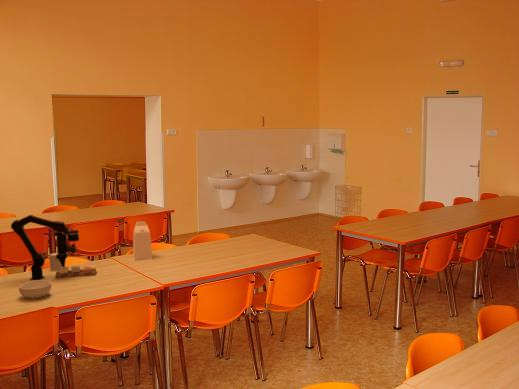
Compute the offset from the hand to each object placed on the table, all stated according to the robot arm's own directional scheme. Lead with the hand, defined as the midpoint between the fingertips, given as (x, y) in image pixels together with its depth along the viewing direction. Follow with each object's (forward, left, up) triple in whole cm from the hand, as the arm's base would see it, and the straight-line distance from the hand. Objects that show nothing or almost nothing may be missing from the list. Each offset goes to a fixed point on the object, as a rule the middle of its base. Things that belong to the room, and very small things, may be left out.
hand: (63, 266), depth 346 cm
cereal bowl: (-40, -7, -6) cm, 41 cm away
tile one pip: (0, 0, -4) cm, 4 cm away
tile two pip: (+3, -6, -4) cm, 8 cm away
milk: (+50, -30, -6) cm, 59 cm away
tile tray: (+3, -6, -6) cm, 9 cm away
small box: (+14, +14, -6) cm, 21 cm away
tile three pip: (+7, -13, -5) cm, 15 cm away
